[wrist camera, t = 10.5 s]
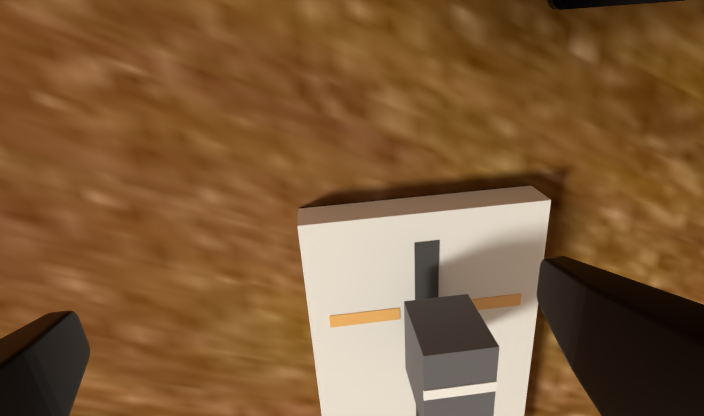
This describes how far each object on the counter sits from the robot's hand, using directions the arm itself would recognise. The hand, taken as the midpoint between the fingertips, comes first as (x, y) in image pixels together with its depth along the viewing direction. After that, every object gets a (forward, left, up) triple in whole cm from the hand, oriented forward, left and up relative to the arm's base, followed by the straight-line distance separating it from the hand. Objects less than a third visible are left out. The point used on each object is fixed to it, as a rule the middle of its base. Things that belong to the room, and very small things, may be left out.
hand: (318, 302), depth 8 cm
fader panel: (-5, +14, -13) cm, 20 cm away
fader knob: (-5, +9, -11) cm, 15 cm away
